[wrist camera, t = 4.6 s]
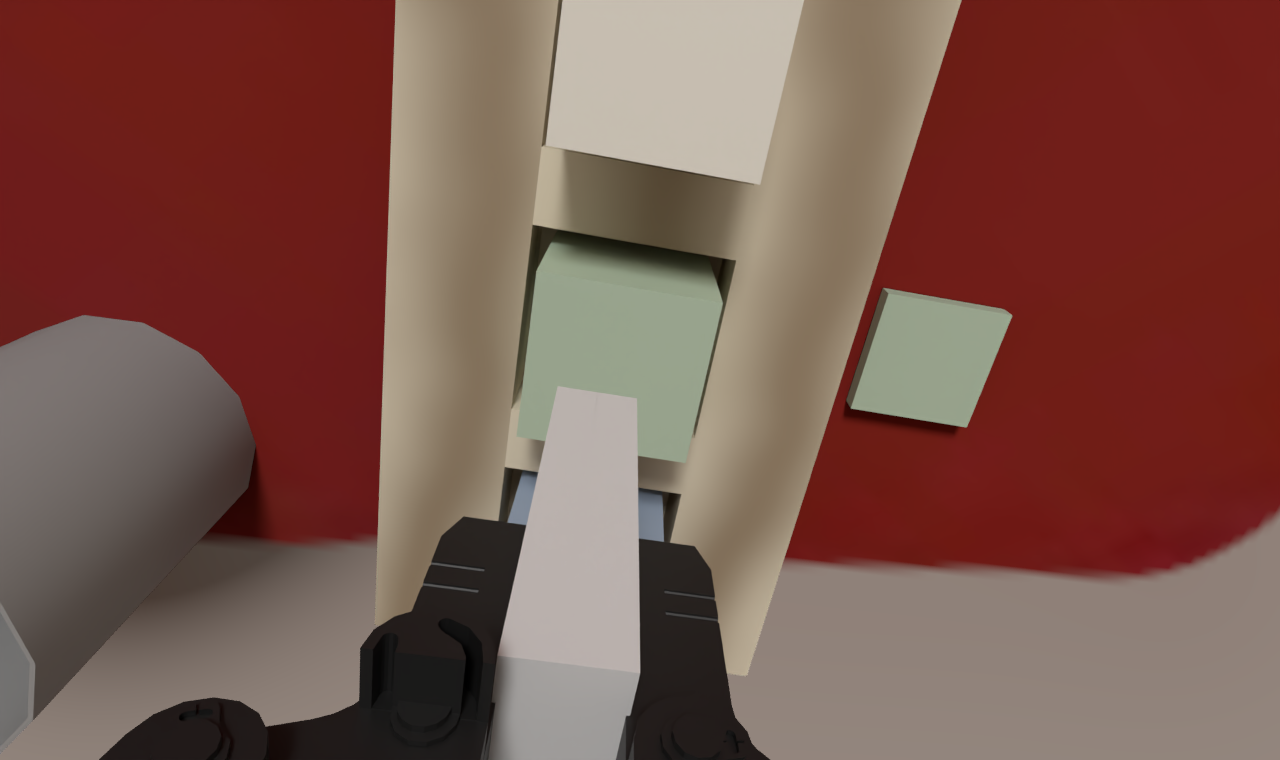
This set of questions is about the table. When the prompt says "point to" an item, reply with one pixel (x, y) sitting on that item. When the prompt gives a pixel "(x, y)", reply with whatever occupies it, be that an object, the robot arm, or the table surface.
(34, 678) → the cup
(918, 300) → the tile
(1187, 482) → the table surface
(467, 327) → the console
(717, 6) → the button cream
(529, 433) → the button sage
